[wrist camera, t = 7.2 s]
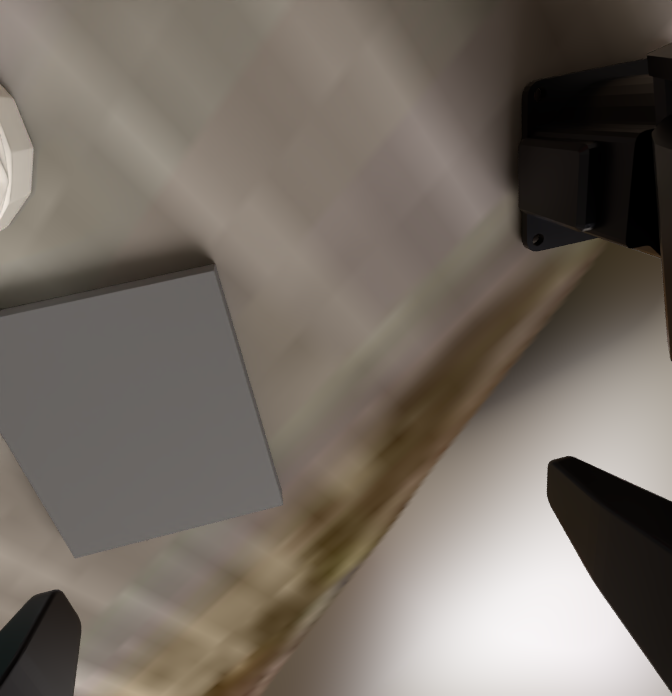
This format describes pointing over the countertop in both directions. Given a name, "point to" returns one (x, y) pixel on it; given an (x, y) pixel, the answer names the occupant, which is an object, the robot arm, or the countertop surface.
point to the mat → (134, 410)
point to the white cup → (13, 160)
